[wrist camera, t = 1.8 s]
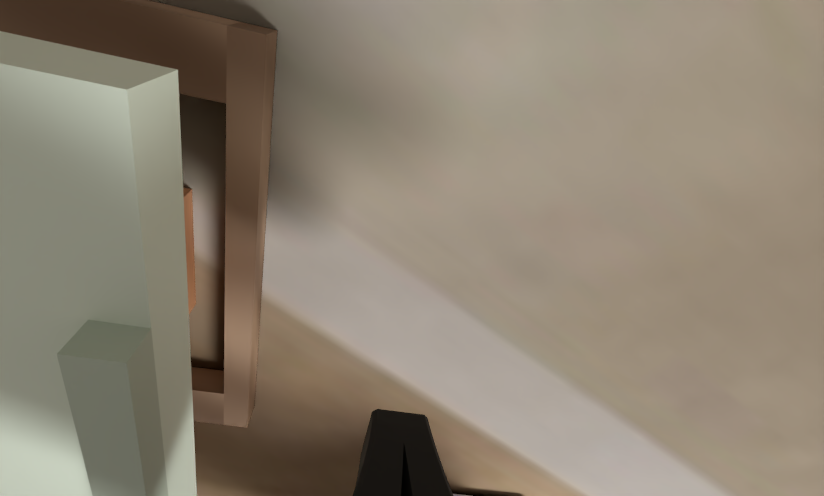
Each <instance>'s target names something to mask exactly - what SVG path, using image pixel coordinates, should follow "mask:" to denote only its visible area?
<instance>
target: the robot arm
mask: <svg viewBox="0 0 824 496" xmlns="http://www.w3.org/2000/svg"><path fill="white" fill-rule="evenodd" d="M353 496H471V495H461V494H453V493H452V491H451V488H450V486H449V483H448V481H447V478H446V475H445V473H444V470H443V467H442V464H441V461H440V458H439V455H438V452H437V449H436V446H435V443H434V440H433V437H432V433H431V430H430V426H429V422H428V419H427V417H426V416H425V415H420V414H412V413H404V412H396V411H388V410H380V409H377V410H375V411H373V412H372V414H371V418H370V422H369V426H368V430H367V433H366V437H365V441H364V445H363V449H362V452H361V457H360V465H359V471H358V477H357V482H356V487H355V491H354V493H353Z"/></svg>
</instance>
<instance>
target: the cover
mask: <svg viewBox="0 0 824 496" xmlns="http://www.w3.org/2000/svg"><path fill="white" fill-rule="evenodd" d="M0 496H197V487H196V465H195V442H194V420H193V397H192V375H191V352H190V330H189V307H188V285H187V263H186V240H185V218H184V195H183V173H182V150H181V128H180V105H179V83H178V70H177V69H173V68H168V67H164V66H159V65H154V64H150V63H145V62H140V61H136V60H131V59H127V58H122V57H117V56H113V55H108V54H104V53H99V52H94V51H90V50H85V49H81V48H76V47H71V46H67V45H62V44H58V43H53V42H48V41H44V40H39V39H34V38H30V37H25V36H21V35H16V34H11V33H7V32H2V31H0Z"/></svg>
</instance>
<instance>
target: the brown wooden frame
mask: <svg viewBox="0 0 824 496" xmlns="http://www.w3.org/2000/svg"><path fill="white" fill-rule="evenodd" d="M0 31H2V32H7V33H11V34H16V35H21V36H25V37H30V38H34V39H39V40H44V41H48V42H53V43H58V44H62V45H67V46H71V47H76V48H81V49H85V50H90V51H94V52H99V53H104V54H108V55H113V56H117V57H122V58H127V59H131V60H136V61H140V62H145V63H150V64H154V65H159V66H164V67H168V68H173V69H177V70H178V83H179V94H183V95H188V96H192V97H197V98H202V99H207V100H212V101H216V102H221V103H226V198H225V321H224V371H221V370H213V369H205V368H198V367H191V375H192V397H193V420H194V422H202V423H211V424H220V425H229V426H237V427H246V428H247V427H248V424H249V421H250V418H251V415H252V412H253V409H254V406H255V392H256V376H257V359H258V343H259V326H260V310H261V294H262V277H263V261H264V244H265V228H266V211H267V195H268V178H269V162H270V145H271V129H272V112H273V96H274V79H275V63H276V46H277V30H273V29H269V28H265V27H261V26H256V25H252V24H248V23H244V22H239V21H235V20H231V19H227V18H222V17H218V16H214V15H210V14H205V13H201V12H197V11H193V10H188V9H184V8H180V7H176V6H171V5H167V4H163V3H159V2H154V1H150V0H0Z"/></svg>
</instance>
